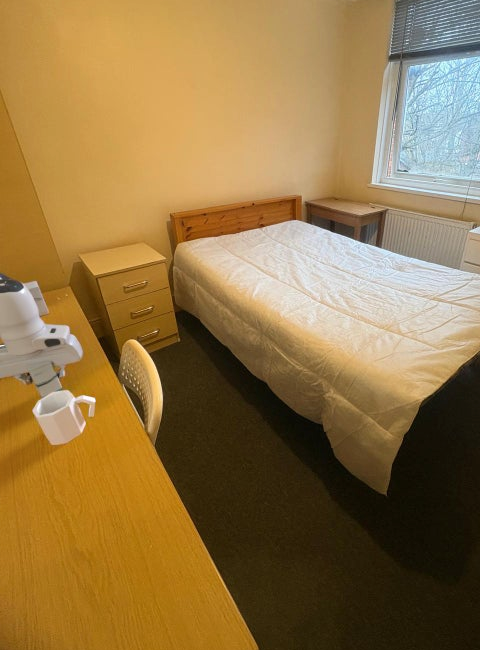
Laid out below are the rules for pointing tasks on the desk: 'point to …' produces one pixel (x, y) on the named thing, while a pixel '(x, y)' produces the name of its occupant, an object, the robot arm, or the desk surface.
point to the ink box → (44, 378)
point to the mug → (62, 416)
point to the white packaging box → (37, 297)
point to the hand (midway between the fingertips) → (45, 379)
